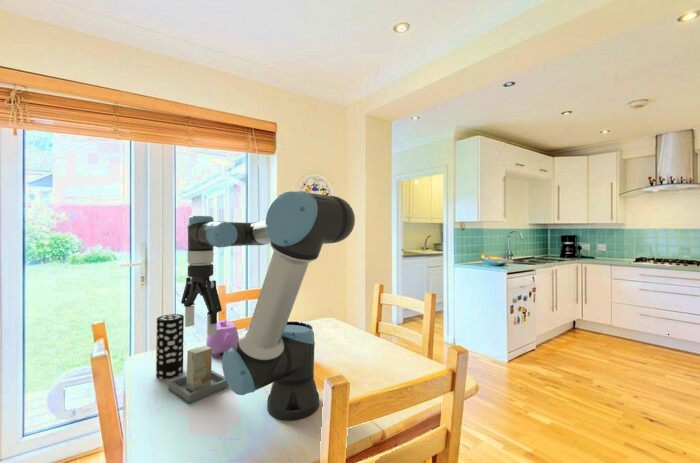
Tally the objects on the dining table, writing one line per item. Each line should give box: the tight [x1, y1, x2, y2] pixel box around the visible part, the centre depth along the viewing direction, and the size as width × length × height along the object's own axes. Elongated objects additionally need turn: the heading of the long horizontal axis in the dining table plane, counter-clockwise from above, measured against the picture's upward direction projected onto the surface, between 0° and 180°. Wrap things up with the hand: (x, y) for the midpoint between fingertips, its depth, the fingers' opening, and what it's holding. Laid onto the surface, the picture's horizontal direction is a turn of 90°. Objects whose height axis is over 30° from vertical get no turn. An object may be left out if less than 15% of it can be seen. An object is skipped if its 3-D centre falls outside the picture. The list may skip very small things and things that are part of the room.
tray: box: [168, 369, 230, 404], centre depth 103 cm, size 13×13×2 cm
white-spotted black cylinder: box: [155, 313, 185, 380], centre depth 113 cm, size 8×8×20 cm
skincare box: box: [186, 345, 213, 392], centre depth 103 cm, size 6×4×12 cm
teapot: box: [205, 319, 240, 357], centre depth 134 cm, size 20×12×13 cm, turn 33°
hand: (200, 329), depth 103 cm, fingers open, 13 cm apart
